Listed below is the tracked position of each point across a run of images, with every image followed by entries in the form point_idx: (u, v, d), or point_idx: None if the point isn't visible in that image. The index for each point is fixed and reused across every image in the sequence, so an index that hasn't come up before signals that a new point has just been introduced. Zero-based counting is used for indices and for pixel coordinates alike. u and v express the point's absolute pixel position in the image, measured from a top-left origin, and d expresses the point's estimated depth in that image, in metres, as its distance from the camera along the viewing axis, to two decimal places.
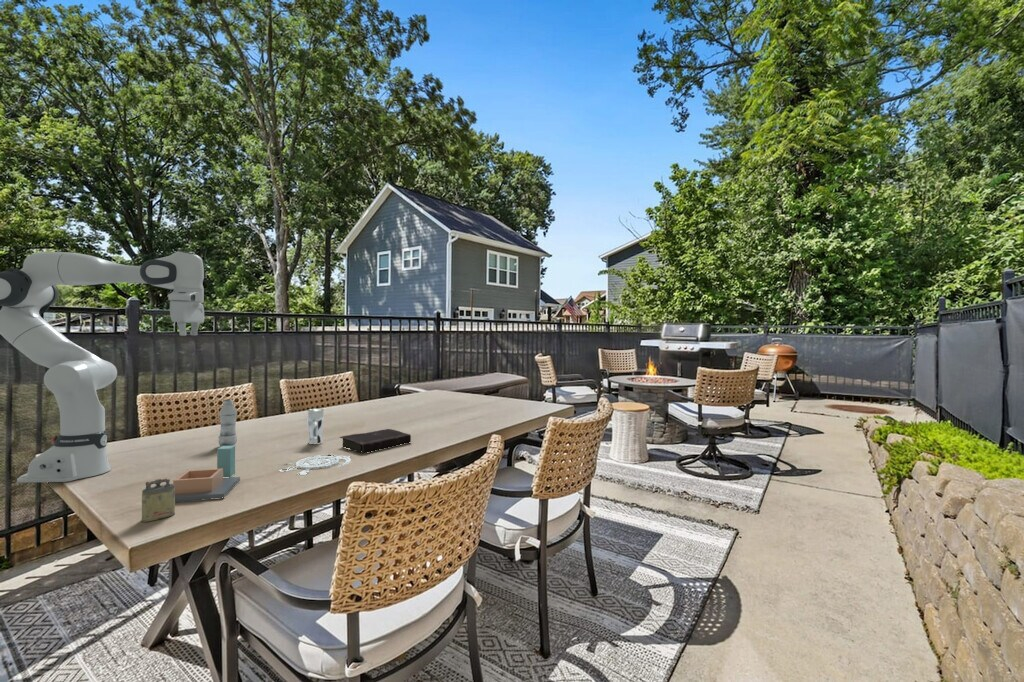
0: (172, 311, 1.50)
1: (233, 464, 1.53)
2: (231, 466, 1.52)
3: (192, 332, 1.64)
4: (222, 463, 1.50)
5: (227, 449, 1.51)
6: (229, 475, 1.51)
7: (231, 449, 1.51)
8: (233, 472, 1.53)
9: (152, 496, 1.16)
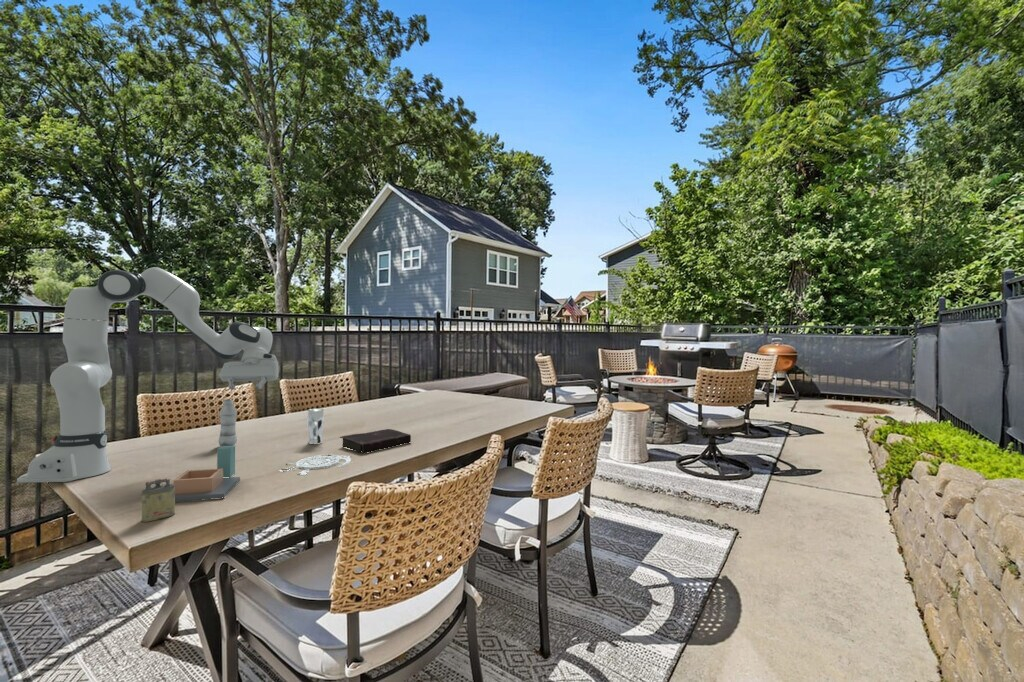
0: (276, 369, 1.75)
1: (233, 464, 1.53)
2: (231, 466, 1.52)
3: (233, 385, 1.68)
4: (222, 463, 1.50)
5: (227, 449, 1.51)
6: (229, 475, 1.51)
7: (231, 449, 1.51)
8: (233, 472, 1.53)
9: (151, 496, 1.16)
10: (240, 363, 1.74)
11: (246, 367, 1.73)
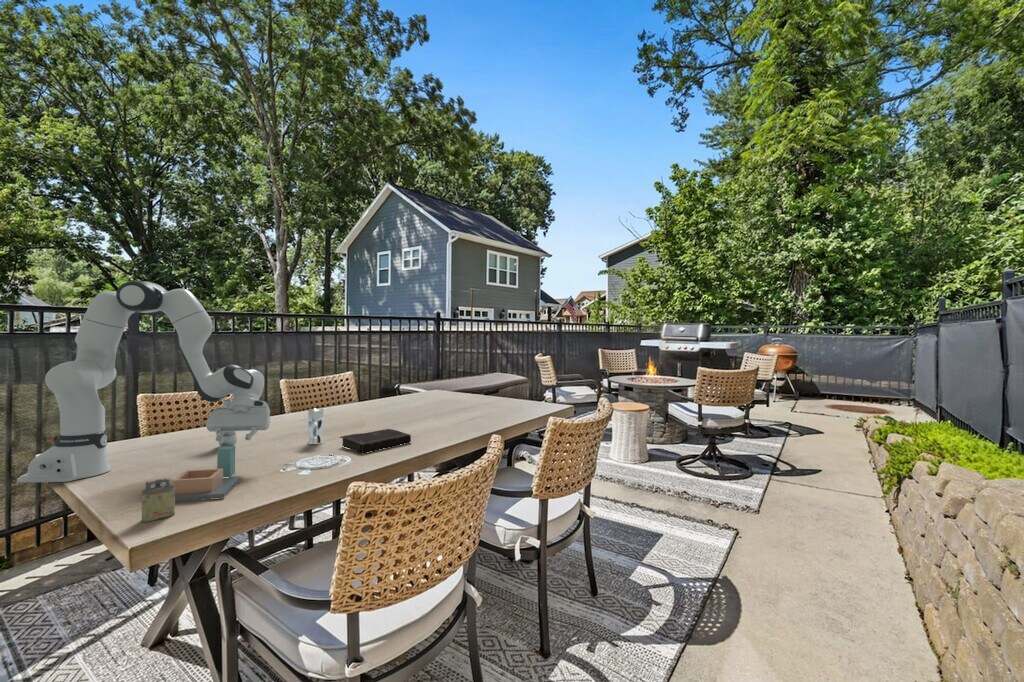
0: (268, 417, 1.64)
1: (233, 464, 1.53)
2: (231, 466, 1.52)
3: (221, 437, 1.57)
4: (222, 463, 1.50)
5: (227, 449, 1.51)
6: (229, 475, 1.51)
7: (231, 449, 1.52)
8: (233, 472, 1.53)
9: (152, 496, 1.16)
10: (229, 411, 1.63)
11: (235, 416, 1.62)
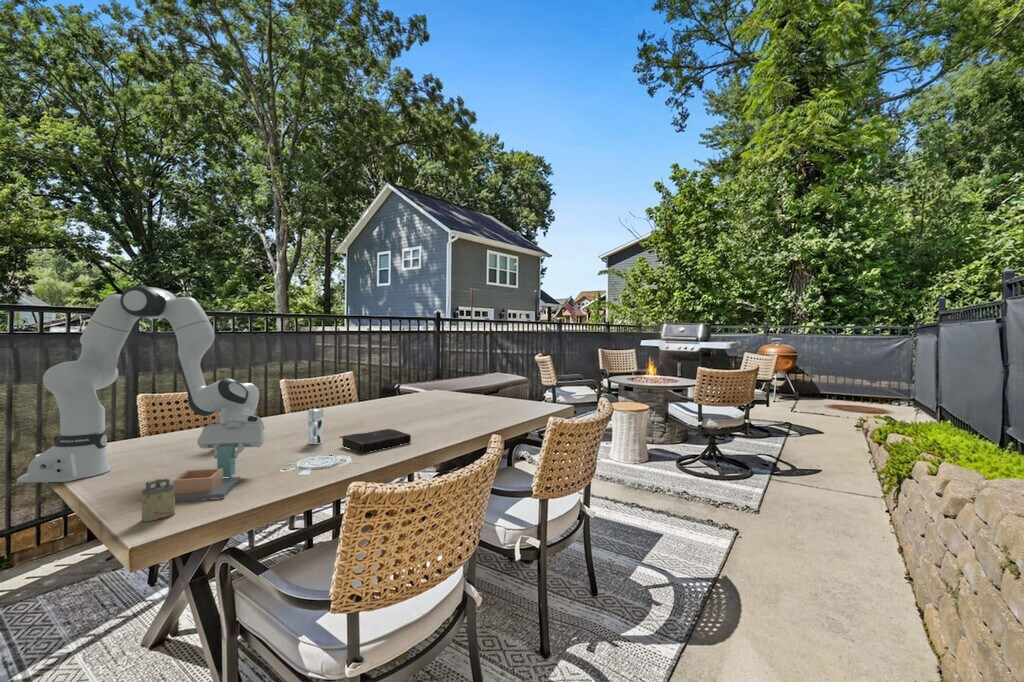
0: (262, 434, 1.58)
1: (233, 464, 1.53)
2: (231, 466, 1.52)
3: None
4: (222, 463, 1.50)
5: (227, 449, 1.51)
6: (229, 475, 1.51)
7: (231, 449, 1.51)
8: (233, 472, 1.53)
9: (152, 496, 1.16)
10: (221, 427, 1.57)
11: (228, 432, 1.56)
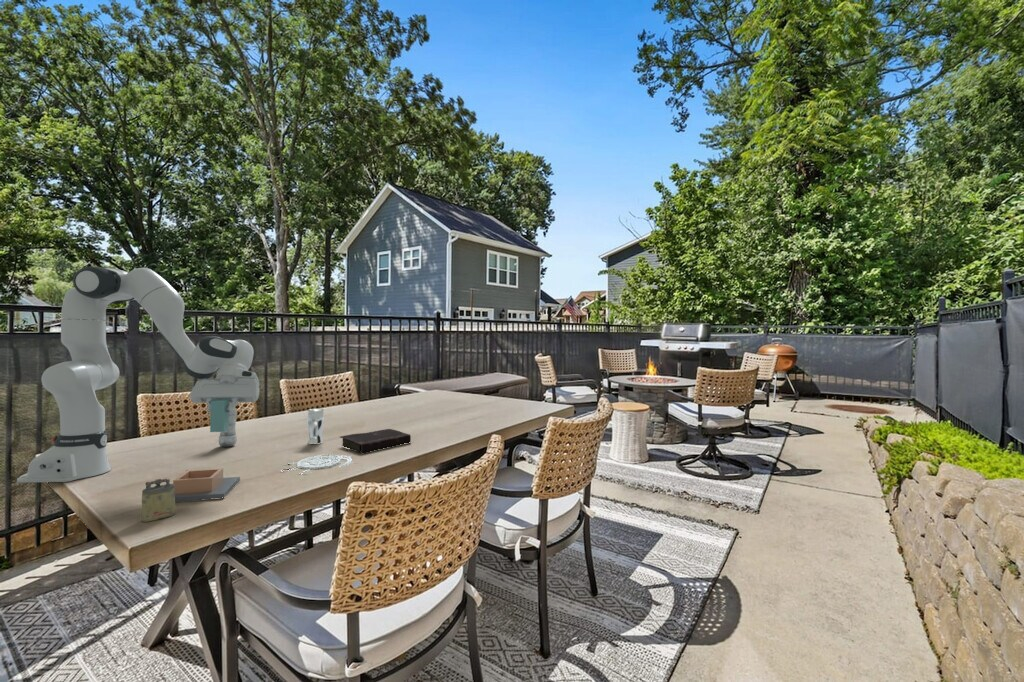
0: (256, 389, 1.54)
1: (227, 418, 1.49)
2: (224, 419, 1.47)
3: None
4: (215, 416, 1.46)
5: (220, 402, 1.46)
6: (223, 429, 1.46)
7: (225, 402, 1.47)
8: (227, 427, 1.49)
9: (152, 496, 1.16)
10: (215, 382, 1.52)
11: (222, 386, 1.52)
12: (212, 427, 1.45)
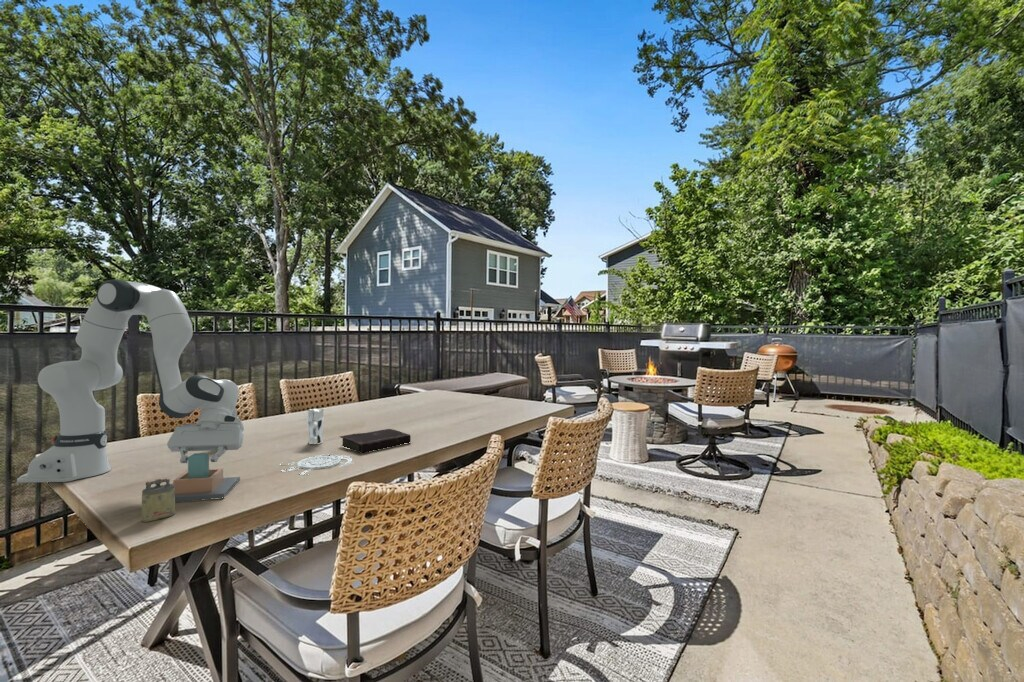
0: (240, 435, 1.43)
1: (206, 474, 1.38)
2: (204, 475, 1.36)
3: (186, 458, 1.36)
4: (193, 472, 1.35)
5: (199, 457, 1.35)
6: None
7: (204, 457, 1.36)
8: None
9: (152, 496, 1.16)
10: (195, 428, 1.42)
11: (202, 433, 1.41)
12: None
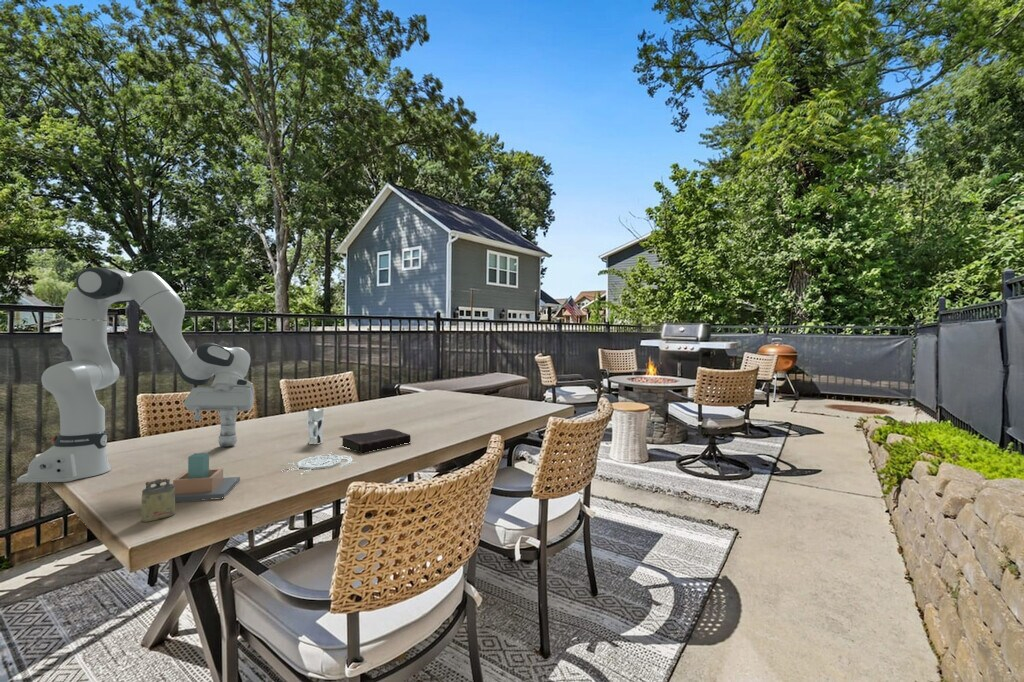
0: (251, 397, 1.53)
1: (206, 474, 1.38)
2: (204, 476, 1.36)
3: (199, 416, 1.47)
4: (193, 472, 1.35)
5: (199, 457, 1.35)
6: None
7: (204, 457, 1.36)
8: None
9: (152, 496, 1.16)
10: (210, 389, 1.52)
11: (216, 394, 1.52)
12: None
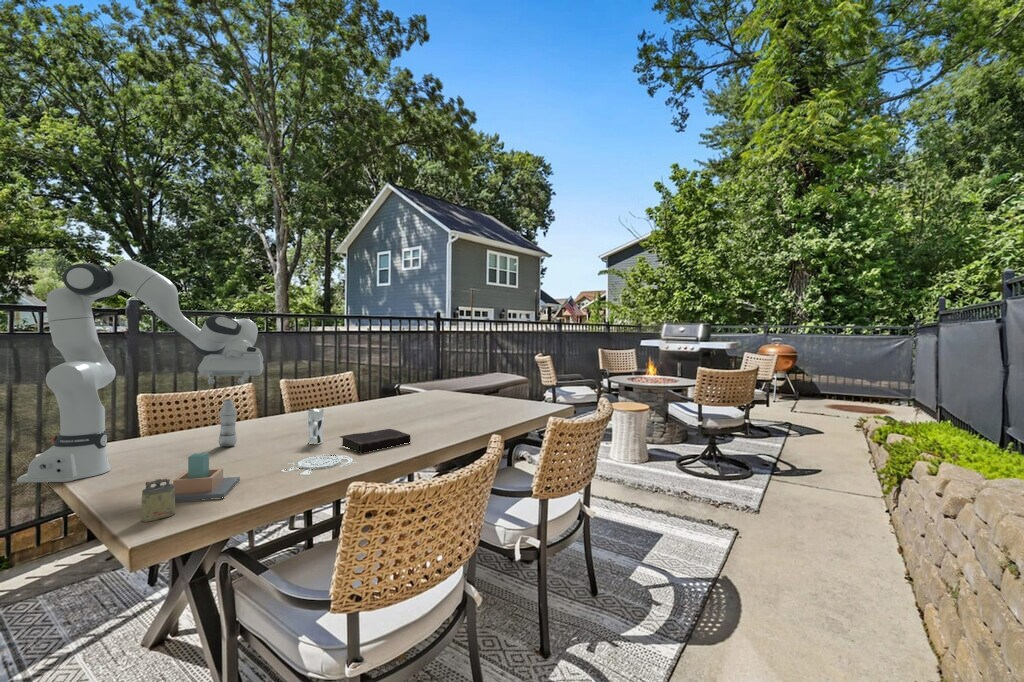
0: (260, 363, 1.63)
1: (206, 474, 1.38)
2: (204, 476, 1.36)
3: (213, 380, 1.56)
4: (193, 472, 1.35)
5: (199, 457, 1.35)
6: None
7: (204, 457, 1.36)
8: None
9: (152, 496, 1.16)
10: (221, 356, 1.62)
11: (228, 361, 1.61)
12: None
